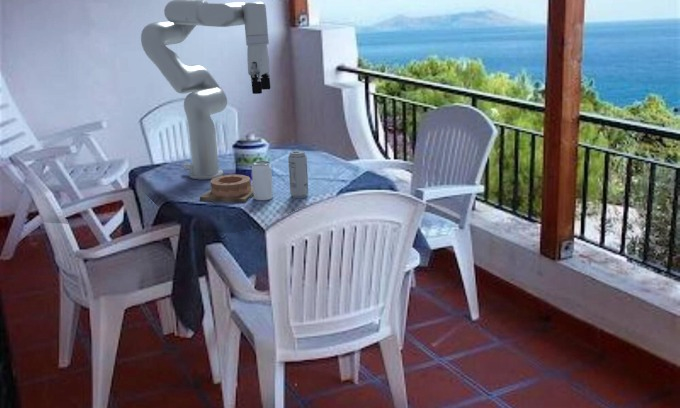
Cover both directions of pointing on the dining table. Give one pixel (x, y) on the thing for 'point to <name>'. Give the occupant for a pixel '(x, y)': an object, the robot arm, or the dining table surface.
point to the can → (262, 180)
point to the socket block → (229, 189)
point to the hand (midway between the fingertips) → (261, 91)
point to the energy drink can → (298, 174)
